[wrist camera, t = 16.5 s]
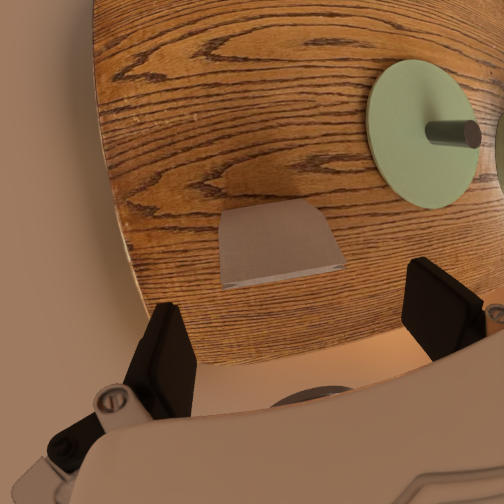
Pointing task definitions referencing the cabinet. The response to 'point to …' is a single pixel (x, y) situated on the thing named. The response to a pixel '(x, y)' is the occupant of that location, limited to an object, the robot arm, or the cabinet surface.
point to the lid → (422, 133)
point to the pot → (500, 151)
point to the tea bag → (275, 243)
